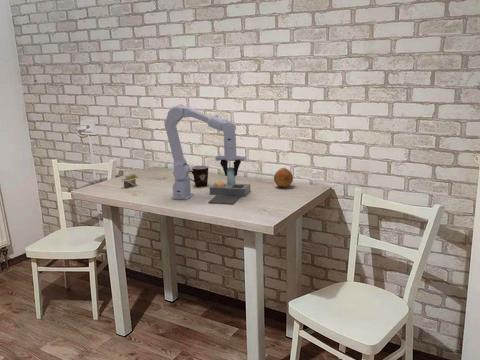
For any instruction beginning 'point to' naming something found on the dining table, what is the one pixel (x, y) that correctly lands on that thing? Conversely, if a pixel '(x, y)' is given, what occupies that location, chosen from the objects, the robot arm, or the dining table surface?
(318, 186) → the dining table surface
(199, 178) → the coffee mug
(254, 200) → the dining table surface
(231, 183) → the cylinder
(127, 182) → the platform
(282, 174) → the onion
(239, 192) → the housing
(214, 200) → the mat
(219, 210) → the dining table surface
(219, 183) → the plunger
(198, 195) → the dining table surface
